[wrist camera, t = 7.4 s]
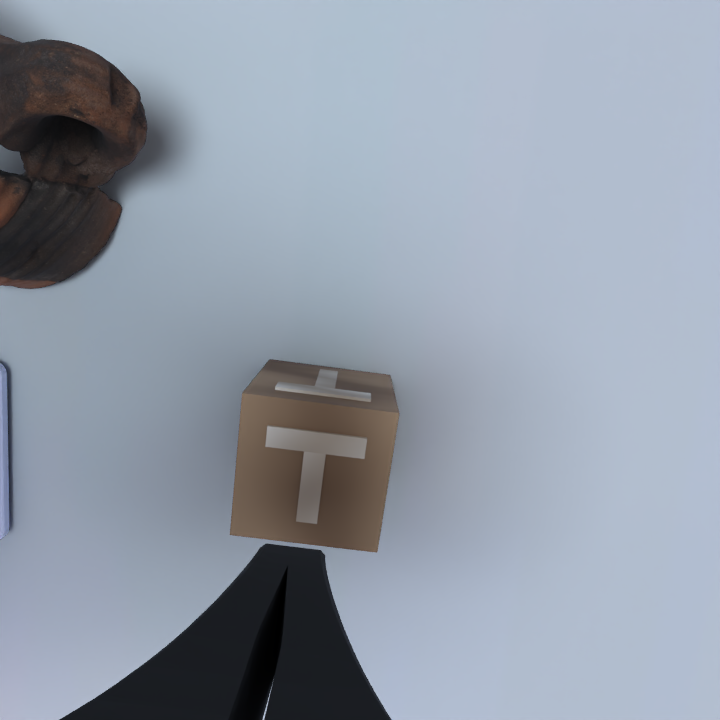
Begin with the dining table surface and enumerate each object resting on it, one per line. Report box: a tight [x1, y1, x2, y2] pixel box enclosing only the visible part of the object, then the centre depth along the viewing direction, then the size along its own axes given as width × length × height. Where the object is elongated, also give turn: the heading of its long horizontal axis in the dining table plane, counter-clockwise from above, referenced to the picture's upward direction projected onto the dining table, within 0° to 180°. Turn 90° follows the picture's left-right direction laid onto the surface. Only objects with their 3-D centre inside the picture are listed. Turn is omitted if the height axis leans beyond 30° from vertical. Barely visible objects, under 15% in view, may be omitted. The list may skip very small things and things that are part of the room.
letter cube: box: [230, 359, 399, 552], centre depth 19 cm, size 5×5×5 cm
